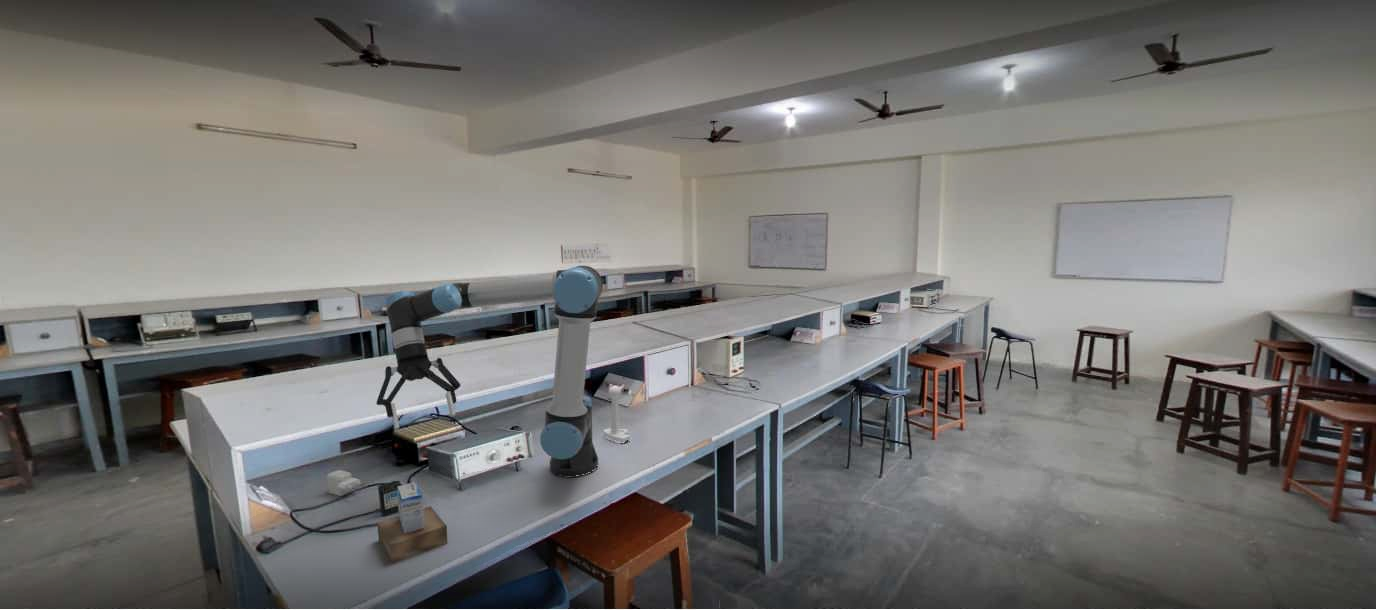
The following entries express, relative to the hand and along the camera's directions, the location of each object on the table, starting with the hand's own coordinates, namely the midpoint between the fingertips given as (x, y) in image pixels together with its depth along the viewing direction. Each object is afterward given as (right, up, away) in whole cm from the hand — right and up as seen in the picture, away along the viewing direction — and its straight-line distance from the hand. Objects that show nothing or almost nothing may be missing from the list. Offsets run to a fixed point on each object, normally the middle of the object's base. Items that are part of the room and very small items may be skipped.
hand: (425, 422), depth 140 cm
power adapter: (-27, -23, +10) cm, 37 cm away
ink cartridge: (-10, -24, +1) cm, 26 cm away
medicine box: (+3, -22, -13) cm, 25 cm away
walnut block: (+3, -27, -12) cm, 29 cm away
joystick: (+44, -18, +53) cm, 71 cm away
